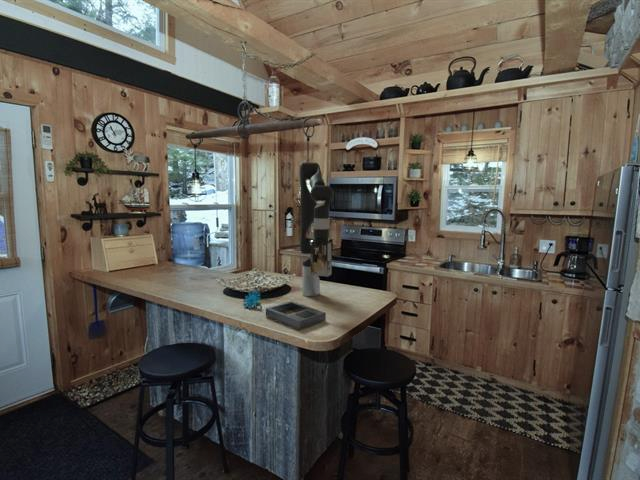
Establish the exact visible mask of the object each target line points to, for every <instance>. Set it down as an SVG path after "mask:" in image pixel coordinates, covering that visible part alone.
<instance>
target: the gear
mask: <svg viewBox="0 0 640 480" xmlns="http://www.w3.org/2000/svg"><path fill="white" fill-rule="evenodd" d="M244 298H245V299H243V301H242V302H243V304H242V305H243V306H244V307H245V309H249V308H251V309H252V308H255V307H256V306H258V307H260V308H261V307H263V305H261V304H262V302H261V301H260V300H261V299H262V298H261V294H260V293H259V292H258V291H255V290H254V291H252V292H249V293H248V295H245V297H244ZM247 307H248V308H247Z"/></svg>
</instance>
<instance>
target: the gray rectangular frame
mask: <svg viewBox="0 0 640 480" xmlns="http://www.w3.org/2000/svg"><path fill="white" fill-rule="evenodd" d="M290 311H292V312H294V313H290V314H285V313H286V312H290ZM283 312H284V313H283ZM326 315H327V314H326V312H325V311H322V310H319V309H315V308H313V307H310V306H306V305H304V304H301V303H298V302H294V301H291V300H290V301H288V302H287V301H286V302H284V303H281V304H276V305H273V306H269V307H266V308H265V317H266V316H268V317H270V318H269V319H271V318H272V319H271V320H273V319H274V321H276V320H277V321H276V322H278V321H279V322H278V323H280V322H281V324H283V325H285V324H286V325H285V326H288V327H290V328H292V327H293V328H292V329H295V330H297V331H302V330H304V329H308V328H310V327H313V326H315V325H319V324H321V323H324V322H326V321H327V320H326V319H327V317H326ZM268 317H267V318H268Z"/></svg>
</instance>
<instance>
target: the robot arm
mask: <svg viewBox="0 0 640 480" xmlns="http://www.w3.org/2000/svg"><path fill="white" fill-rule="evenodd" d="M308 180H309V186H310V188H311V189H310V190H309V187H308V183H307V181H308ZM299 184H300V201H299V202H300V205H299V207H300V237H299V238H300V241H299V250H300V253H301V254H303V255H304V254H305V255H307V254H308V255H311V254H312V260H313V262H315V263H316V262H317V253H318V251H319V250H320V246H319V247H318V248H315V243H316V245H317V246H318V245H319V243H323V242H332V252H333V250H334V243H333V242H334V241H333V238H329V237H330V207H331V206H330V205H331V202H332V199H333V196H334V190H333V188H332V187H331V185H326V183H325V181H324V179H323V175H322V170H321V167H320V163H318V162H313V161H311V162H310V161H309V162H307V161H306V162H301V163H299ZM318 201H319V202H321V201H324V202H323V204H320V205H318V204H317V202H318ZM311 225H313V237H307V233H308V231H309V229H310V227H311ZM311 250H312V251H311ZM315 250H316V251H315ZM320 279H321V278H320V276H316V275H311V257H309V258H306V259H304V260H302V295H303V296H304V297H315V296H316V297H317V296H319V294H321V293H320V291H321V290H320V288H321V287H320V286H321V285H320V284H321V283H320V281H321V280H320Z"/></svg>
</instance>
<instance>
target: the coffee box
mask: <svg viewBox="0 0 640 480" xmlns="http://www.w3.org/2000/svg"><path fill="white" fill-rule="evenodd" d="M319 246H320V250H319V251H318V253H317V262H316V263H315V262H313V260H312V254H310V258H311V275H316V276H319V277H330V276H332V272H333V271H332V269H333V268H332V260H333V259H332V258H333V257H332V252H333V251H332V242H323V243H319V245H318V246H317V245H316V243H315V248H318V247H319ZM311 251H312V250H311ZM315 251H316V250H315Z"/></svg>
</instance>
